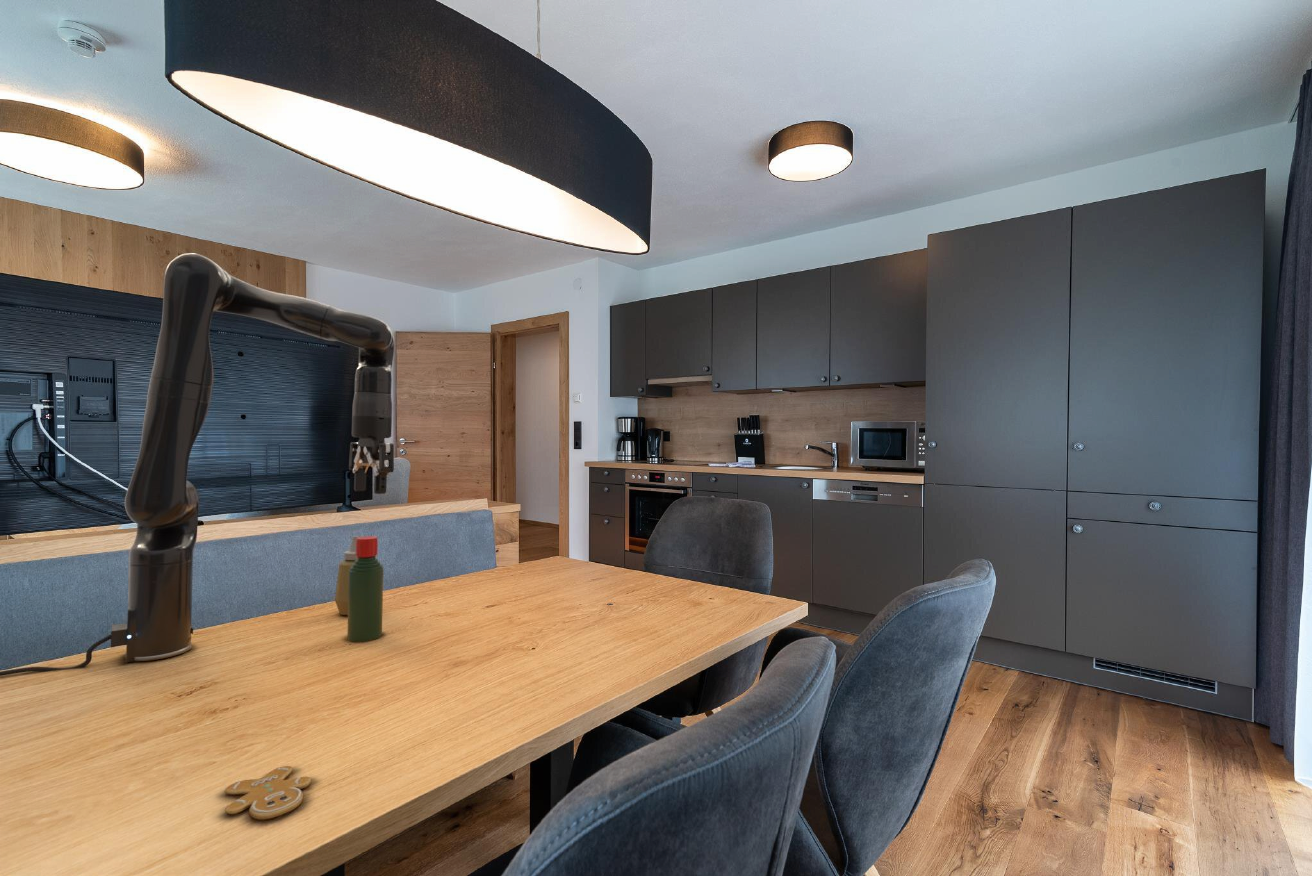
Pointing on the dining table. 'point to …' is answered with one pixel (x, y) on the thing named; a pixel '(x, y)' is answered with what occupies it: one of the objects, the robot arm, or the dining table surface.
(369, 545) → the cap
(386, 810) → the dining table surface
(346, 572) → the squeeze bottle
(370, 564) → the sauce bottle
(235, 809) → the cookie
